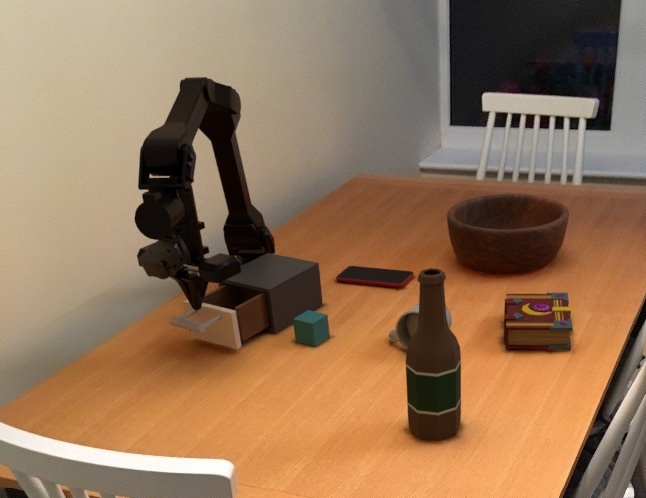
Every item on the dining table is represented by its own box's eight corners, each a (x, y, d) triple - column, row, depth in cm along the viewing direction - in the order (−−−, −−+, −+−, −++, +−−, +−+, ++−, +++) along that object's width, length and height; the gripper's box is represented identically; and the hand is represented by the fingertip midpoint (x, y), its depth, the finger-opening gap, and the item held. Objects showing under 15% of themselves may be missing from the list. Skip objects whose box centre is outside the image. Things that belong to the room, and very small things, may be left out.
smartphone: (349, 265, 177) (415, 271, 172) (349, 269, 178) (415, 275, 172) (334, 277, 172) (401, 284, 166) (334, 282, 172) (402, 288, 167)
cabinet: (275, 333, 153) (269, 289, 148) (224, 320, 159) (217, 277, 154) (322, 305, 163) (318, 262, 158) (273, 294, 169) (267, 252, 164)
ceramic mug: (455, 338, 147) (454, 297, 143) (435, 357, 141) (434, 315, 137) (401, 330, 152) (399, 289, 147) (380, 348, 146) (377, 307, 142)
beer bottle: (405, 417, 126) (399, 263, 112) (456, 412, 126) (456, 259, 112) (411, 444, 119) (405, 285, 106) (465, 439, 120) (465, 280, 106)
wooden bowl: (431, 274, 173) (430, 225, 167) (467, 235, 192) (467, 190, 186) (550, 286, 164) (554, 235, 159) (576, 244, 183) (580, 196, 177)
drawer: (214, 362, 142) (207, 325, 139) (167, 349, 148) (159, 313, 144) (285, 320, 155) (281, 286, 151) (239, 309, 161) (234, 275, 157)
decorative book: (503, 351, 142) (504, 324, 139) (504, 312, 155) (505, 287, 152) (571, 352, 141) (573, 324, 138) (566, 313, 154) (568, 287, 151)
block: (295, 341, 150) (292, 318, 147) (310, 332, 153) (308, 309, 150) (315, 346, 148) (312, 323, 145) (329, 337, 151) (327, 314, 148)
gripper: (102, 226, 134) (124, 316, 142) (186, 242, 125) (204, 338, 134) (153, 206, 141) (171, 294, 150) (235, 220, 132) (250, 312, 141)
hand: (197, 309), depth 143 cm, fingers closed
